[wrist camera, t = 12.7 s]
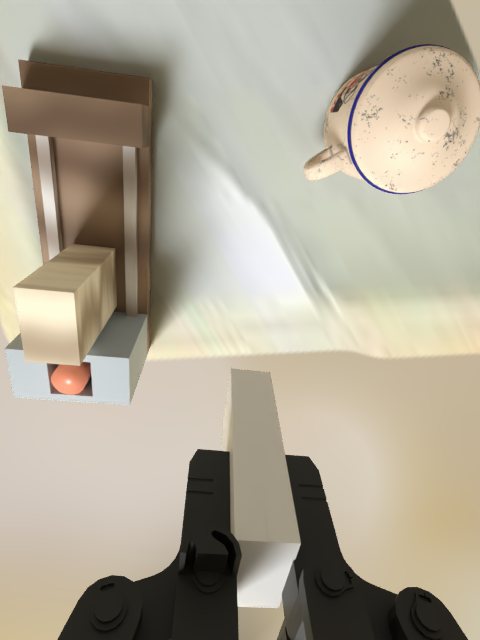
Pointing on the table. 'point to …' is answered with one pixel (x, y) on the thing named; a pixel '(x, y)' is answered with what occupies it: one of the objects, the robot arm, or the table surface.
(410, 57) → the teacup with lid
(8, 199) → the table surface
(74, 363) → the carriage
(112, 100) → the rail bed
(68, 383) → the button
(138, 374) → the cabinet
